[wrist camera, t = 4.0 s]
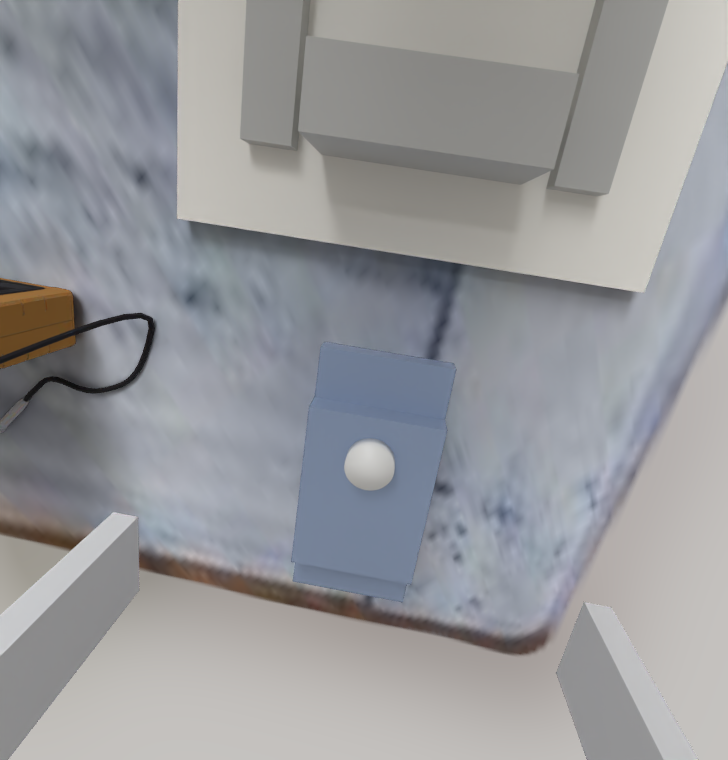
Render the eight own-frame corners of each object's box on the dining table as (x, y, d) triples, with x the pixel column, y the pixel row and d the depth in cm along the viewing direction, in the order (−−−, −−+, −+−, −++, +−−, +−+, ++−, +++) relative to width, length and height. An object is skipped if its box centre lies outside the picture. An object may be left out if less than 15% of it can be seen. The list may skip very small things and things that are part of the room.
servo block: (315, 513, 24) (283, 610, 18) (340, 321, 20) (311, 358, 14) (403, 529, 24) (402, 633, 17) (444, 338, 20) (461, 383, 14)
